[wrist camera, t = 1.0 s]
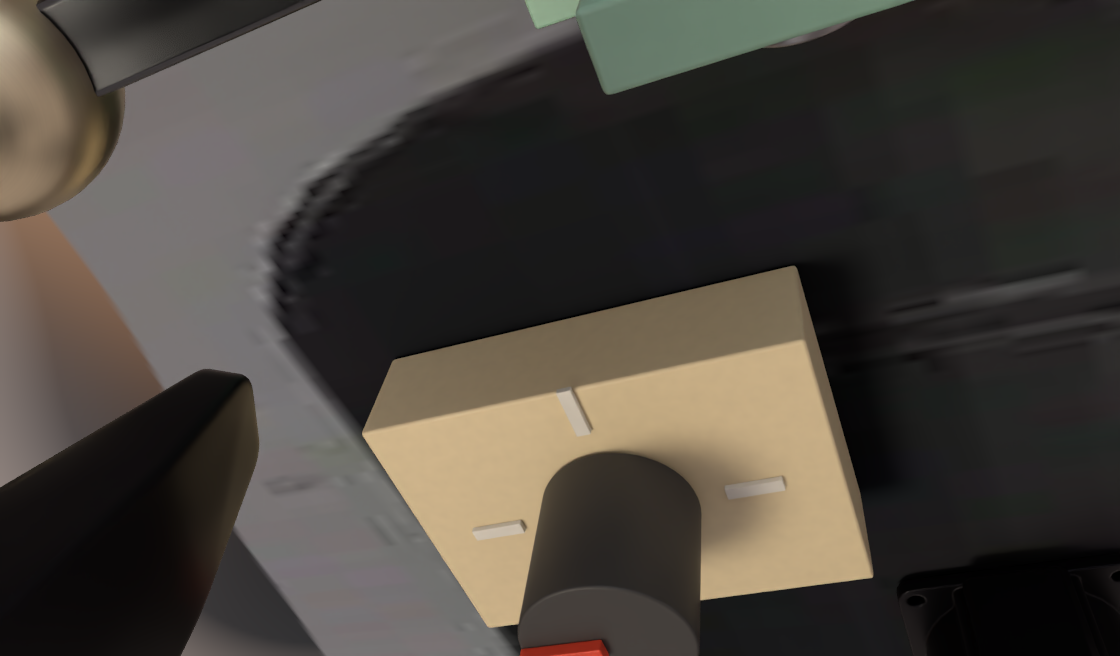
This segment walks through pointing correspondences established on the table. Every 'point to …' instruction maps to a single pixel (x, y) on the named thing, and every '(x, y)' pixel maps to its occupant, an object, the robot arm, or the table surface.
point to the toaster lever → (92, 80)
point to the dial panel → (633, 436)
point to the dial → (614, 562)
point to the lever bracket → (691, 31)
